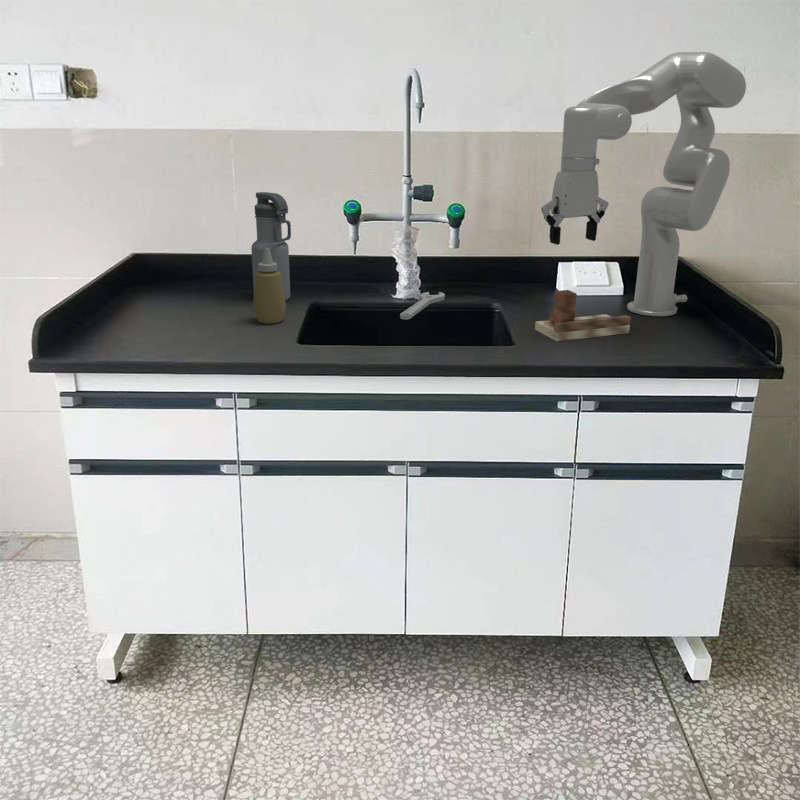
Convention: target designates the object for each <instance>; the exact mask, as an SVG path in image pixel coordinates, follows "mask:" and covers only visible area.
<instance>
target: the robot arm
mask: <svg viewBox="0 0 800 800" xmlns="http://www.w3.org/2000/svg"><path fill="white" fill-rule="evenodd" d="M746 89H747V82H746V78H745V76H744V74H743V73H742V72H741V71H740V70H739V69H738V68H736V67H735V66H733V65H732V64H730V63H729V62H728V61H726V60H724V59H723V58H721V56H719V55H717V54H714V53H711V52H706V51H680V52H674V53H671V54H669V55H666V56H665V57H663V58H662V59H660V60H659V61H657V62H656V63H654V64H653V65H651V66H650V67H649V68H647V69H646V70H645V71H643V72H641V73H640V74H638V75H637V76H635V77H632V78H629V79H627V80H623V81H621V82H618V83H616V84H615V83H614V84H612V85H610V86H608V87H604V88H602V89H600V90H597V91H595V92H594V93H591V95H589V96H587V97H586V98H584V99H583V100H581V101H580V102H579V103H577V105H576V106H575V105H574V106H570V107H567V108H566V109H565V111H564V115H563V128H562V146H561V158H560V160H561V162H560V163H561V164H560V170H558V171H557V172H556V176H555V179H554V183H553V187H552V188H553V189H552V195H551V200H550V201H549V202H547V203H546V204H544V205H542V207H541V208H540V210H541V213H542V215H543V219H544V220H545V222H546V223H547V225H548V226H549V243H550V244H553V245H556V246H558V245H559V244H561V231H562V230H561V229H562V228H561V226H560V224H561V223H562V221H564V220H565V219H569V218H570V219H571V218H581V217H586V218H587V219H588V221H586V226H585V228H586V229H585V239H586V240H588V241H592V242H595V241H596V240H597V233H598V224H599V223H600V222H601V219H602V218H603V217H604V215H605V214H606V211H607V210H608V208H609V204H610V203H609V202H608V201H607V200H605V199H603V198H601V197H599V191H600V190H599V177H598V172H597V170H596V165H600V159H599V158H597V150H598V140H606V141H607V140H608V141H616V140H619V139H622V138H623V137H625V136H626V135H627V133H628V132H629V131H630V129H631V127H632V123H633V122H632V121H633V120H632V116H634V115H641V114H644V113H645V114H646V113H648V112H649V113H650V112H652V111H654V110H656V109H657V108H658V107H660V106H661V105H663V104H664V103H665V102H667V101H668V100H669V99H671V98H672V97H674V96H676V100H677V104H678V107H679V113H680V126H679V129H678V131H677V135H676V136H675V139H674V141H673V144H672V146H671V149H670V150H669V153H668V155H667V157H666V160H665V163H664V165H663V171H662V172H663V173H662V175H663V177H664V180H666V182H668V183H670V184H673V185H677V186H682V187H690V188H693V189H683V188H679V187H672V186H671V187H670V186H656V187H654V188H651V189H650V190H647V192H646V193H645V194H644V196H643V198H642V201H641V205H640V214H641V239H640V248H639V249H640V250H639V258H638V264H637V274H636V283H635V292H634V296H633V297H634V299H633V301H630V302H628V303H627V307H626V309H627V310H628V311H629V312H631V313H634V314H638V315H642V316H648V317H669V316H674V315H675V314H678V307H677V306H676V304H678V303H685V302H687V301H688V296H687V295H686V294H678V295H677V293H674V289H675V282H676V274H677V267H678V261H679V253H680V246H681V245H680V243H681V242H680V237H679V234H678V231H677V230H682V231H688V232H697V231H700V230H702V229H703V228H704V227H706V226H707V224H708V223H709V221H710V220H711V218H712V215H713V213H714V211H715V209H716V207H717V204H718V202H719V201H720V197H721V195H722V193H723V191H724V189H725V187H726V183H727V181H728V178H729V176H730V170H731V169H730V167H731V161H730V158H729V156H728V154H727V153H726V152H725V151H724V150H721V149H718V148H711V145H712V141H713V140H714V137H715V133H716V127H715V122H714V119H713V117H712V114H711V112H710V109H709V108H715V109H716V108H718V109H729V108H734V107H735V106H737V105H739V104H740V103H741V102H742V100H743V98H744V97H745V94H746Z"/></svg>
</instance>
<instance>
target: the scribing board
mask: <svg viewBox="0 0 800 800" xmlns="http://www.w3.org/2000/svg"><path fill="white" fill-rule="evenodd" d="M631 321H632V317H631V316H630V315H627V314H625V315H616V316H611V315H609V314H597V315H596V314H595V315H588V316H587V315H585V316H577V317H575V318H574V321H568V322H559V323H555V325H553V324H552V321H550V320H549V319H546V320H538V321H535V326H534V330H535V331H537V332H539V333H540V334H542V335H544V336H546V337H547V338H550V339H552V340H553V341H555V342H565V341H572V340H573V341H574V340H581V339H589V338H591V339H592V338H599V337H606V336H615V335H623V334H624V335H626V334H629V333H630V328H631Z"/></svg>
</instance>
